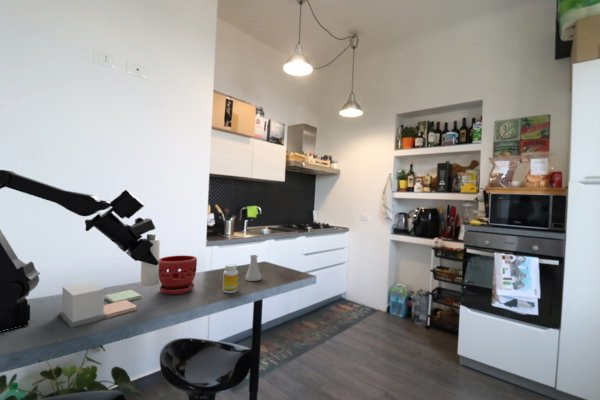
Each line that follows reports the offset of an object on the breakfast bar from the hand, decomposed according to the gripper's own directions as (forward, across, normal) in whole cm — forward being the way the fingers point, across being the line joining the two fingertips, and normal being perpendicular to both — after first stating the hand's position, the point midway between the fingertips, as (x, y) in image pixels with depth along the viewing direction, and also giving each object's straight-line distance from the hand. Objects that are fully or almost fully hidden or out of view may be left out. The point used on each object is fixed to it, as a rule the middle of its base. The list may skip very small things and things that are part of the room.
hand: (155, 262), depth 92 cm
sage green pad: (+5, +11, +14) cm, 19 cm away
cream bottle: (+4, 0, +6) cm, 7 cm away
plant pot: (+17, +9, +2) cm, 19 cm away
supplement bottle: (+28, -2, -8) cm, 29 cm away
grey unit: (-3, +2, +22) cm, 23 cm away
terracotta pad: (+3, +2, +16) cm, 17 cm away
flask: (+38, +5, -19) cm, 43 cm away
